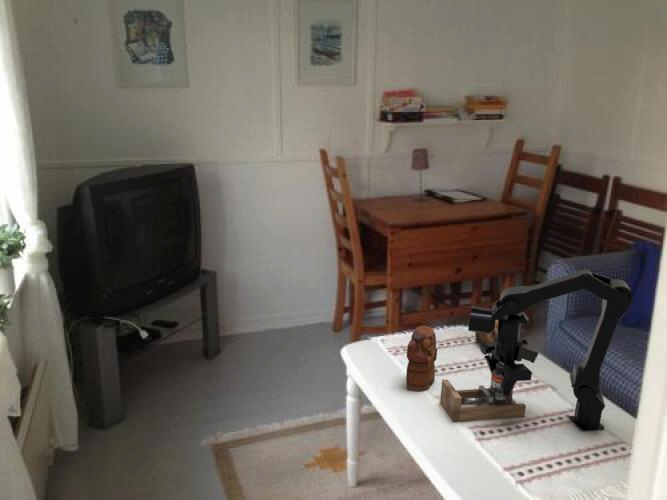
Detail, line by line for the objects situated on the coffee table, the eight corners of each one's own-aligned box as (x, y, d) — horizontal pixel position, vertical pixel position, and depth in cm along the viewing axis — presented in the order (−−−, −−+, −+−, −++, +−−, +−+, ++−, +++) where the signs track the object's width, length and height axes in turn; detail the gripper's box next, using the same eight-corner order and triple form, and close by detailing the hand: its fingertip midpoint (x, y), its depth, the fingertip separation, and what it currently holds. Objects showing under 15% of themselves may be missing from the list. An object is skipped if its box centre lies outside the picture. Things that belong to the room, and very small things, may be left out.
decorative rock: (504, 354, 196) (508, 324, 193) (487, 356, 195) (491, 325, 192) (487, 339, 207) (490, 310, 205) (471, 341, 206) (474, 311, 203)
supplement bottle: (509, 398, 165) (513, 360, 162) (513, 409, 159) (518, 370, 156) (487, 396, 165) (491, 358, 162) (490, 407, 159) (494, 368, 156)
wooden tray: (524, 417, 159) (527, 393, 157) (453, 422, 155) (455, 398, 153) (507, 398, 168) (510, 376, 166) (440, 402, 165) (442, 379, 163)
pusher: (491, 414, 158) (493, 397, 157) (469, 416, 157) (471, 399, 156) (481, 401, 165) (482, 385, 164) (459, 402, 164) (461, 386, 163)
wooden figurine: (422, 395, 168) (427, 336, 163) (402, 389, 171) (406, 331, 167) (438, 379, 178) (443, 323, 173) (418, 373, 181) (423, 318, 176)
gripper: (554, 349, 149) (546, 404, 153) (519, 321, 167) (513, 371, 171) (513, 351, 147) (506, 407, 151) (482, 322, 165) (477, 373, 169)
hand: (501, 389), depth 161 cm, fingers closed on supplement bottle, 6 cm apart
